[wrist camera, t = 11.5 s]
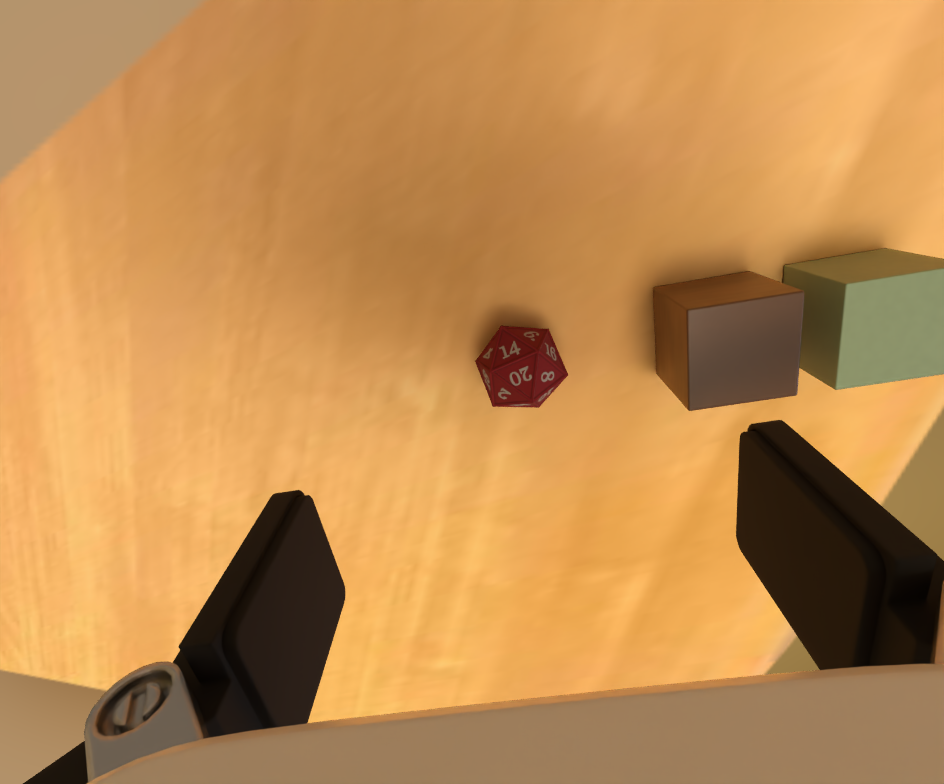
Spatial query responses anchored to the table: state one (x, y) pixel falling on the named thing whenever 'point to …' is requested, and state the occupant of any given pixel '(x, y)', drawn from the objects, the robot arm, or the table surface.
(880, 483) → the table surface
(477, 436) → the table surface
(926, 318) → the sage block
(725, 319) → the walnut block
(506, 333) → the dice
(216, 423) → the table surface
